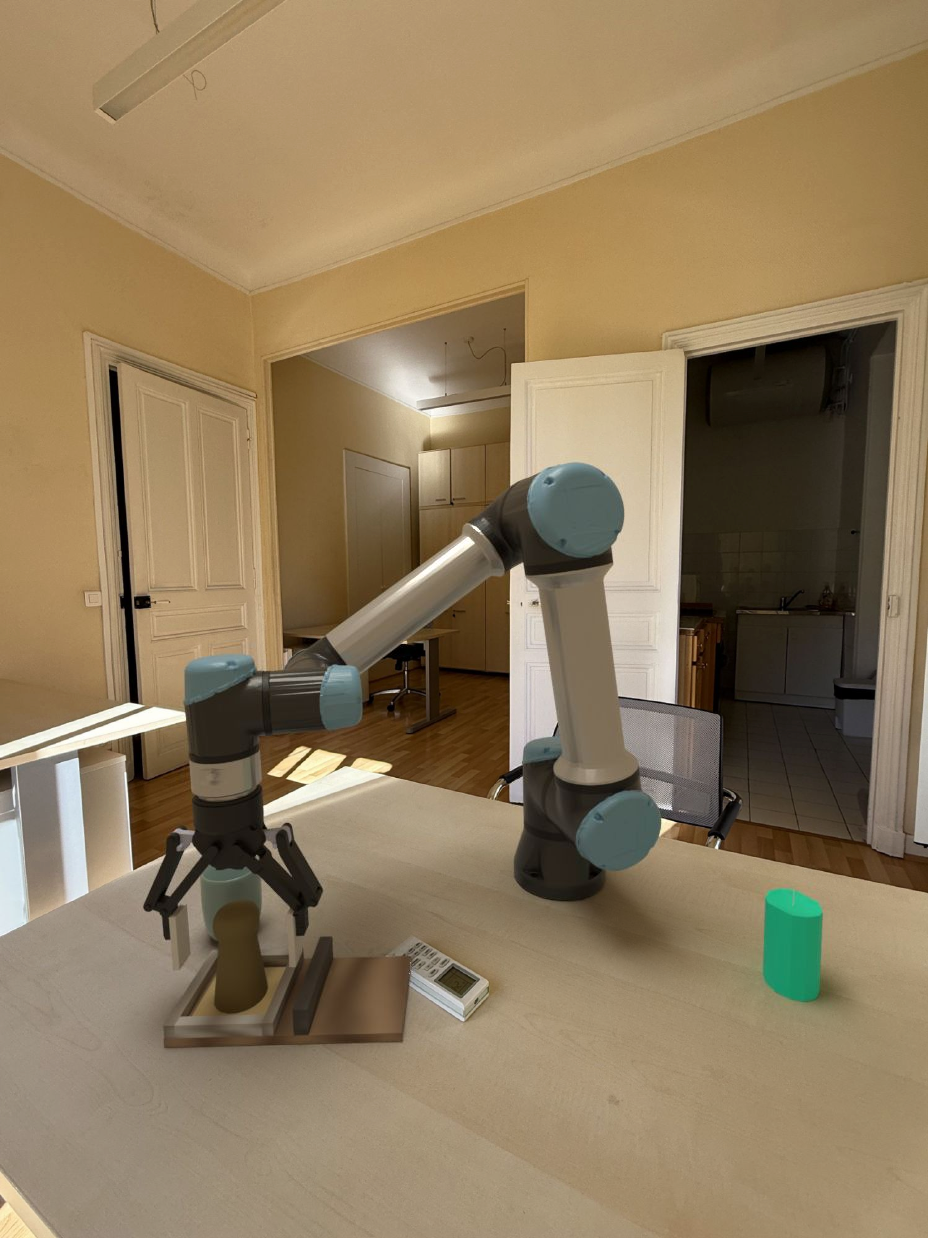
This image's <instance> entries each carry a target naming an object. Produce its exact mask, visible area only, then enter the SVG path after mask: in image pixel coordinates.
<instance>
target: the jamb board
mask: <svg viewBox="0 0 928 1238" xmlns="http://www.w3.org/2000/svg"><path fill="white" fill-rule="evenodd" d="M333 939H334V938H333V936H332V935H331V936H327V935H326V936H322V935H321V936H320V937H319V938H318V940H317V941H318V942H317V944H316V947H315V949H314V952H313V954H312V957H311V958H310V957H309V958H307V957H306V958H304V957H305V955H304V954H305V953H304V952H305V951H304V947H302V953H301V956H300V958H299V961H298V963H297V966H296V967H289V950H288V948H286V947H285V948H260V951H261V955H262V960H263V964H264V969H265V974H266V978H267V983H268V990H267V993H266V995H265V996H264V998H263V999H262V1000H261V1001H260V1002H259V1003H258V1004H256V1005H255V1006H254V1007H252V1008H250V1009H248V1010H246V1011H243V1012H240V1013H234V1014H227V1013H222V1012H220V1011H219V1010H217V1009H216V1007H215V1005H214V997H215V984H216V970H217V957H218V949H216V950H215V949H213V950H211V952H209V954H208V956H207V958H206V960H204V962H203V964H202V966H200V969H199V970H198V971H197V973H196V974H195V976H194V978H193V979H192V981H191V982H190V984H189V985H188V987H187V989H186V990H185V992H184V993H183V995H182V996H181V998H180V999H179V1000H178V1002H177V1004H176V1006H175V1007H174V1008H173V1009H172V1012H171V1014H170V1015H169V1016H168V1018H166V1019H167V1020H166V1021H165V1022H164V1024H163V1025H162V1026H163V1027H162V1029H163V1048H188V1047H189V1048H190V1047H191V1048H195V1047H227V1046H228V1047H231V1046H232V1047H234V1046H268V1045H269V1046H273V1045H277V1046H278V1045H301V1044H302V1045H305V1044H307V1045H310V1044H342V1043H343V1044H344V1043H345V1044H346V1043H347V1044H349V1043H350V1044H351V1043H380V1042H381V1043H385V1042H388V1043H389V1042H403V1035H404V1027H405V1020H406V1019H405V1018H406V1011H407V1004H408V993H409V988H410V978H411V971H410V962H411V963H412V955H392V956H390V955H389V956H385V955H384V956H353V957H352V956H351V957H334V944H333V942H334V941H333ZM409 973H410V974H409Z"/></svg>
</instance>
